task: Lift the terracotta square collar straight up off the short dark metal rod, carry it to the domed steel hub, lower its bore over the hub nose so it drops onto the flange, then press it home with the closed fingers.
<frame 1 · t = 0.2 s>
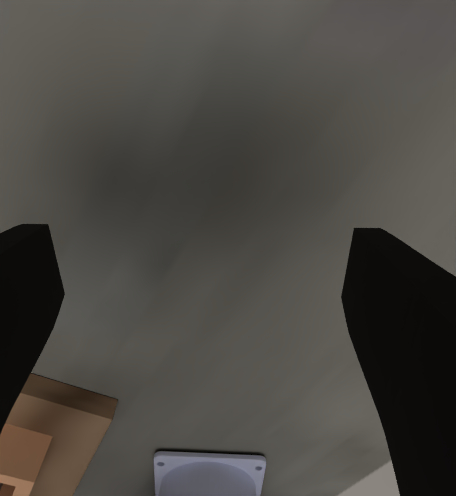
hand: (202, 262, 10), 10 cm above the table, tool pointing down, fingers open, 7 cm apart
collar: (2, 448, 28), point 1 cm above the table, touching walnut board
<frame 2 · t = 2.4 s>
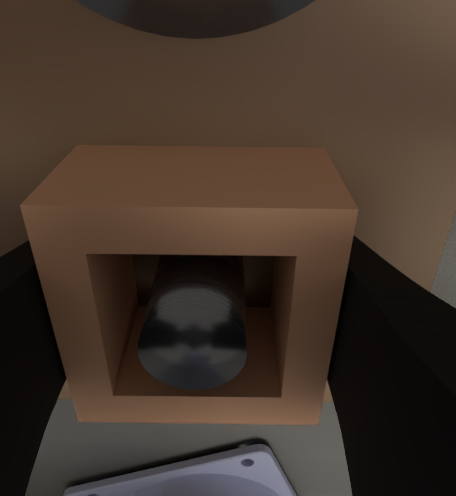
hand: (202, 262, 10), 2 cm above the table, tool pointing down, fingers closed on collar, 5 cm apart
walnut board: (202, 54, 10), on the table
collar: (203, 250, 11), point 1 cm above the table, touching gripper, walnut board
stand rod: (206, 222, 12), resting on walnut board
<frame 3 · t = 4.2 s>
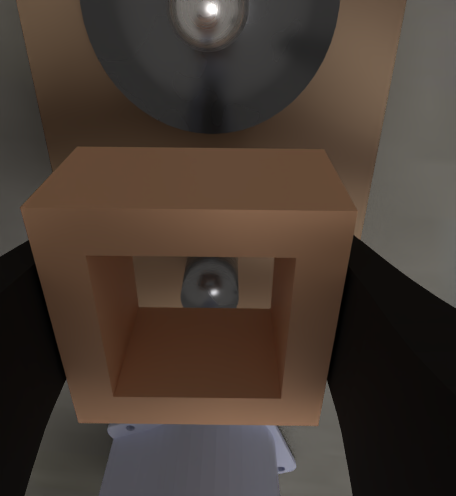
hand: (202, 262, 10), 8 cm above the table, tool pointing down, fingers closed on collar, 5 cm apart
walnut board: (213, 130, 17), on the table
collar: (203, 252, 11), point 8 cm above the table, touching gripper
hub: (212, 2, 15), resting on walnut board
stand rod: (214, 228, 19), resting on walnut board
when the fingers open (4 cm above the table, at t = 5.8 s): collar drops 1 cm, resting on hub.
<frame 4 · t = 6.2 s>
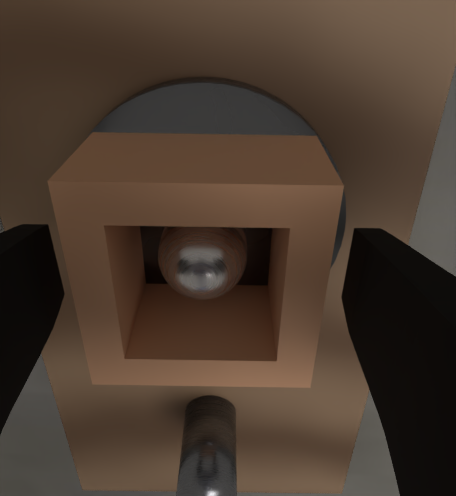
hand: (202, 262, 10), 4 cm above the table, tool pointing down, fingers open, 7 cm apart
walnut board: (210, 301, 16), on the table
collar: (206, 231, 12), point 2 cm above the table, touching hub
hub: (209, 194, 14), resting on walnut board
stand rod: (212, 382, 18), resting on walnut board
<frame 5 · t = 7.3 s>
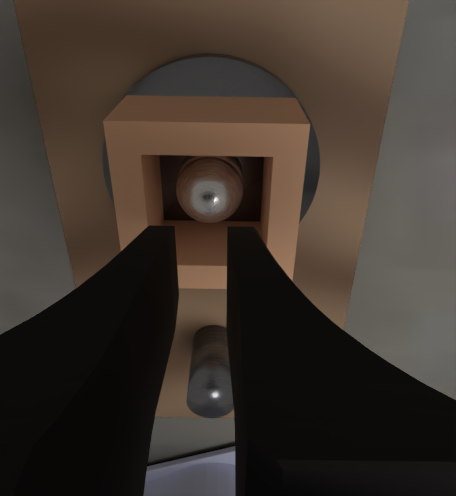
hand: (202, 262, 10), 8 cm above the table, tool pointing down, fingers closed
walnut board: (214, 245, 19), on the table
collar: (211, 175, 15), point 2 cm above the table, touching hub
hub: (213, 152, 17), resting on walnut board
stand rod: (215, 319, 22), resting on walnut board
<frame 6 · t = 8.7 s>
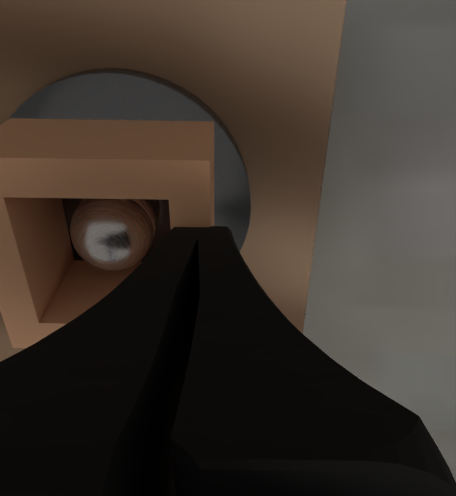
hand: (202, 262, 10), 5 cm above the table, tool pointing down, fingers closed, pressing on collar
walnut board: (148, 281, 17), on the table
collar: (124, 210, 13), point 2 cm above the table, touching gripper, hub
hub: (137, 179, 15), resting on walnut board
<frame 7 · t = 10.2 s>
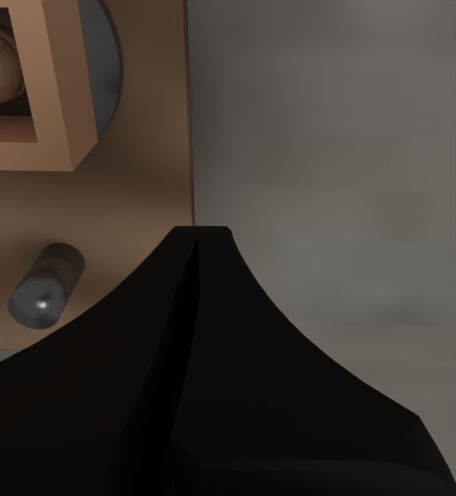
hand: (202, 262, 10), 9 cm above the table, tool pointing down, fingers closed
walnut board: (55, 159, 19), on the table
collar: (7, 62, 15), point 2 cm above the table, touching hub
hub: (33, 51, 17), resting on walnut board
stand rod: (73, 244, 21), resting on walnut board
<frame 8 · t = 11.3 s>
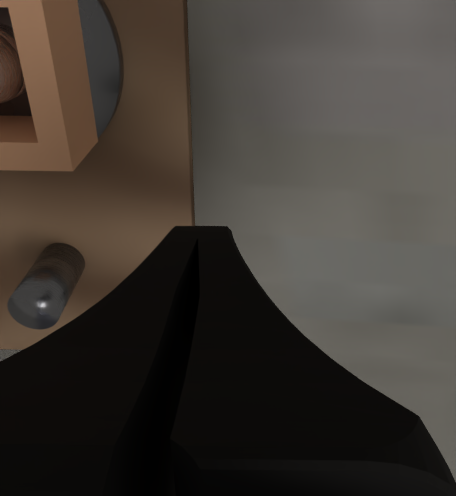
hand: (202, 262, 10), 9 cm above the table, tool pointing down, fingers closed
walnut board: (55, 159, 19), on the table
collar: (7, 62, 15), point 2 cm above the table, touching hub
hub: (33, 51, 17), resting on walnut board
stand rod: (73, 244, 21), resting on walnut board
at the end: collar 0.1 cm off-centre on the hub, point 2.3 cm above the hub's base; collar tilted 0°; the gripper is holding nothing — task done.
